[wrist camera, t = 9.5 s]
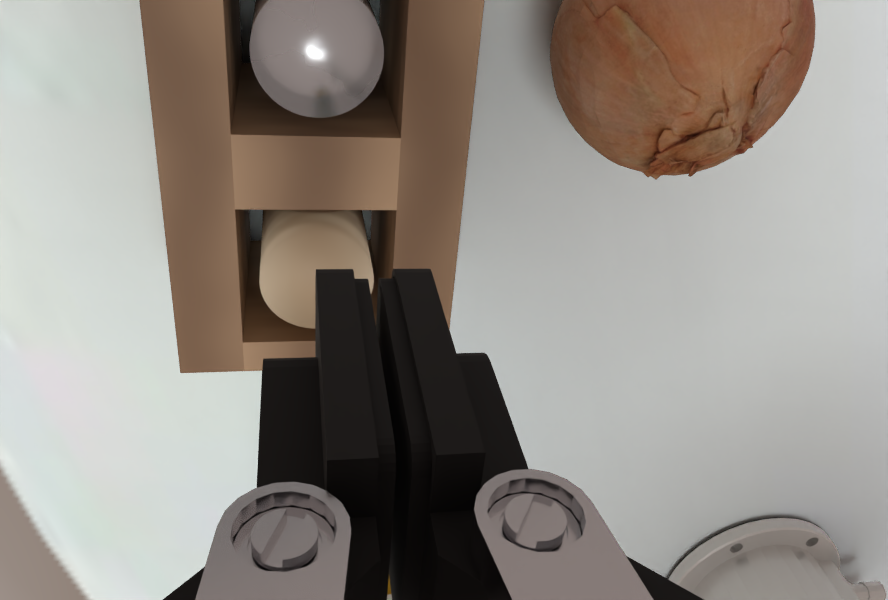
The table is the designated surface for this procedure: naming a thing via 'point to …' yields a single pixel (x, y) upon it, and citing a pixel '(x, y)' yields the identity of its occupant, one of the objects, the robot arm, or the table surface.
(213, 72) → the socket block
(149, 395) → the table surface
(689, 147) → the onion
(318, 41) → the peg metal
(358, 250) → the peg birch
